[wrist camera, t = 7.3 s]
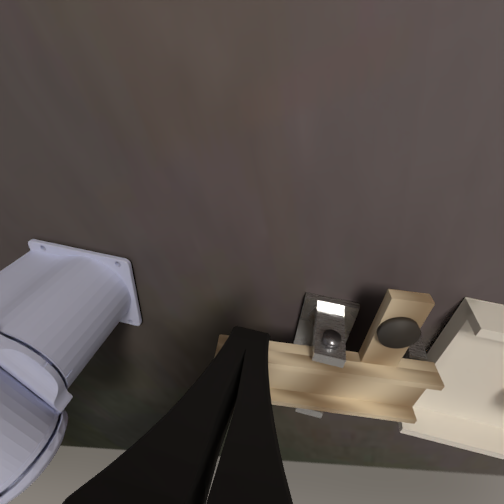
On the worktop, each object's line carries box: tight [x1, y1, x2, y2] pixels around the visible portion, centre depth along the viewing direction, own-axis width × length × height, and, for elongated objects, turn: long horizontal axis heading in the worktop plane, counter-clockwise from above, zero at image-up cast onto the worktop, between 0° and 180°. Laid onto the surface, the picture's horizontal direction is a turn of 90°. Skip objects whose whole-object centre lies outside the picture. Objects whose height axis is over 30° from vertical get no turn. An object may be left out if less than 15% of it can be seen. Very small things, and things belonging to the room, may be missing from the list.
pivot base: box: [293, 292, 428, 418], centre depth 23 cm, size 9×8×5 cm
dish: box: [398, 297, 504, 459], centre depth 23 cm, size 10×13×3 cm
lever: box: [214, 289, 445, 424], centre depth 20 cm, size 15×11×3 cm
